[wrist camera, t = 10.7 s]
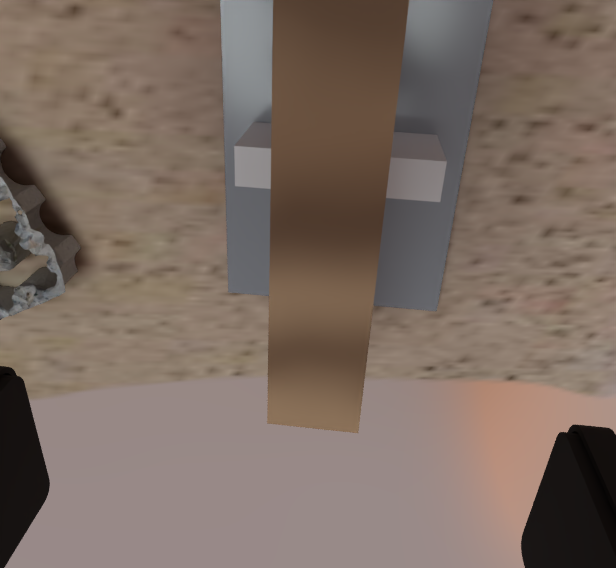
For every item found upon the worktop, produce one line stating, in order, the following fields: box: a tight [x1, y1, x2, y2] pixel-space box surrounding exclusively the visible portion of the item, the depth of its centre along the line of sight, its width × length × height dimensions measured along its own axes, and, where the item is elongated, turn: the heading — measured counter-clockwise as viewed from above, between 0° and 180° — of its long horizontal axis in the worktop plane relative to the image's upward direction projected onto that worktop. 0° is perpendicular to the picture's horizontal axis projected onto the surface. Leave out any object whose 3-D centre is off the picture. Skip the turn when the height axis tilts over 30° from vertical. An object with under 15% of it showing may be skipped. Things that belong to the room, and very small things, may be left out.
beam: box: [267, 0, 409, 433], centre depth 22 cm, size 20×4×5 cm, turn 177°
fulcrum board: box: [220, 0, 493, 311], centre depth 27 cm, size 18×12×6 cm, turn 177°
